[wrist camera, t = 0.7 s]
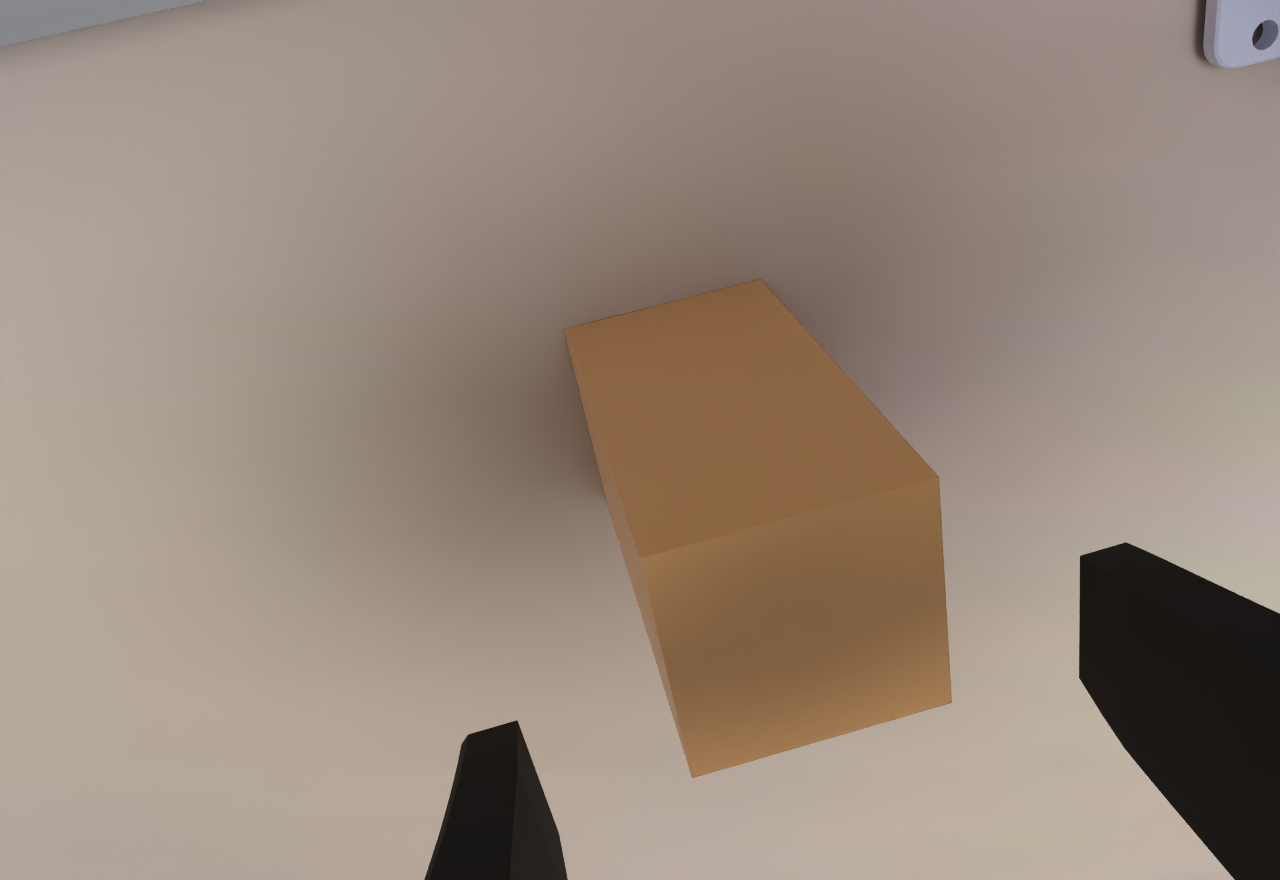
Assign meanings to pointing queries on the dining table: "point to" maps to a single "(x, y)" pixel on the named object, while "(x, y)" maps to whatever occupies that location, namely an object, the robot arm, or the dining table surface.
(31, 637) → the dining table surface
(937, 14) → the dining table surface
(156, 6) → the socket plate
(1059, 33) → the dining table surface
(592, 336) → the plug
